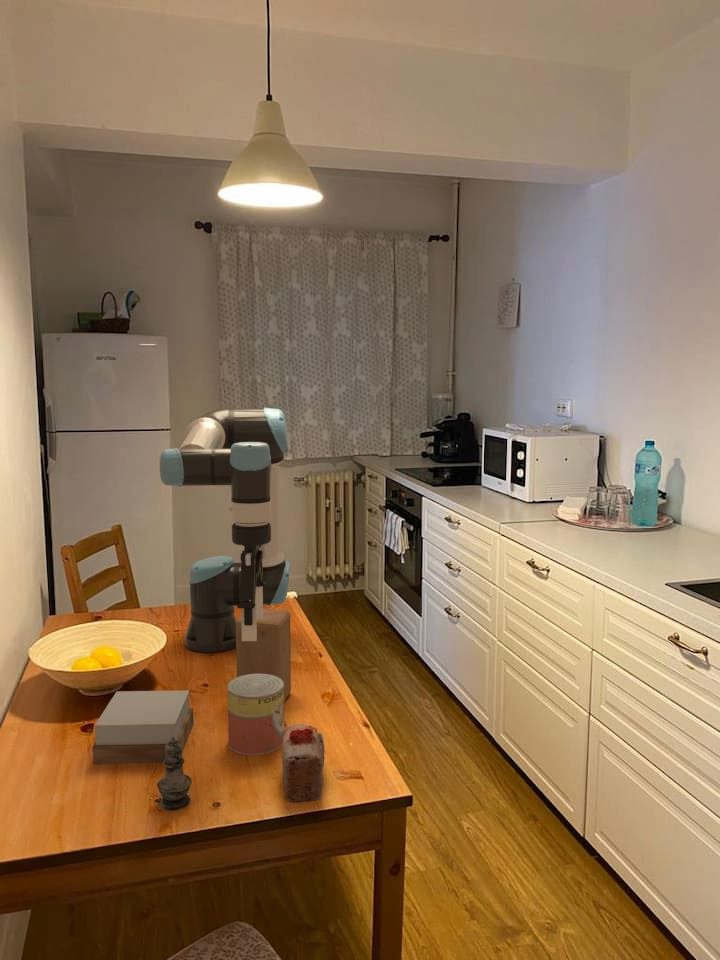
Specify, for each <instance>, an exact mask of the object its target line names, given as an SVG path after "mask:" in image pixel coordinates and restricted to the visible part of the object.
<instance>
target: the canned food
mask: <svg viewBox="0 0 720 960" xmlns="http://www.w3.org/2000/svg"><path fill="white" fill-rule="evenodd" d="M226 689H227V726H228V727H227V728H228V730H227V731H228V733H227V734H228V740H227V741H228V742H227V744H228V747H229V749H230V750H231V751H233V752H235V753H237V754H239V755H244V756H261V755H268V754H271V753H273V752H275V751H278V750H279V749H280V748H281V747H283V736H284V731H285V701H284V681H283V680H282V679H281V678H279V677H277V676H275V675H271V674H263V673H255V674H247V675H242V676H239V677H237V676H236V677H235V678H233V679H231V680H229V682H228V683H227V685H226Z"/></svg>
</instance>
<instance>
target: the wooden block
mask: <svg viewBox="0 0 720 960" xmlns="http://www.w3.org/2000/svg"><path fill="white" fill-rule="evenodd" d="M236 620H237V622H236V647H235V648H236V651H235V653H236V654H235V655H236V677H239V676H242V675H247V674H255V673H263V674H271V675H275V676H277V677H279V678H281V679H282V680H283V681H284V702H285V701H286V699H287V698H288V697H289V695H290V694H291V690H292V667H291V666H292V663H291V657H292V655H291V653H292V652H291V648H292V647H291V642H292V641H291V613H290V611H289V610H284V609H272V608H271V609H269V608H263V618H256V628H257V640H256V641H242V623H241V617H239V618H238V619H236Z"/></svg>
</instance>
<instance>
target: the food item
mask: <svg viewBox="0 0 720 960" xmlns="http://www.w3.org/2000/svg"><path fill="white" fill-rule="evenodd" d="M281 749H282V750H281V751H282V754H281V757H280V758H281V763H282V778H283V785H284V786H283V787H284V792H285V796H286V798H287V800H288V802H294V803H295V802H303V801H305V802H306V801H318V800H320V799H321V796H322V793H323V780H324V779H323V768H324V766H325V759H326V758H325V757H326V756H325V753H326V751H325V749H326V748H325V742H324V736H323V734H322V733H321V732H318V728H317V727H315V726H313V725H311V724H303V723H297V724H291V725H287V726H284V736H283V745H282V748H281Z"/></svg>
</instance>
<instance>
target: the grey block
mask: <svg viewBox="0 0 720 960" xmlns="http://www.w3.org/2000/svg"><path fill="white" fill-rule="evenodd" d="M190 704H191V703H190V690H186V689H185V690H130V691H129V690H128V691H127V690H123V691H116V692H115V694H114V695H113V697H112V698H111V699H110V701H109V702H108V703H107V706H106V707H105V708H104V709H103V711H102V714H101V715H100V716H99V718H98V719H97V721H96V722H95V724H94V735H95V736H94V737H95V739H94V740H95V742H96V745H134V744H167V743H168V742H169V741H171V738H172V737H174V738H175V740H176V741H177V739H178V737H179V734H180V732H181V729H182V727H183V724H184V722H185V719H186V717H187V714H188V712H189V709H190V708H191V707H190V706H191V705H190ZM95 742H94V743H95Z"/></svg>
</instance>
